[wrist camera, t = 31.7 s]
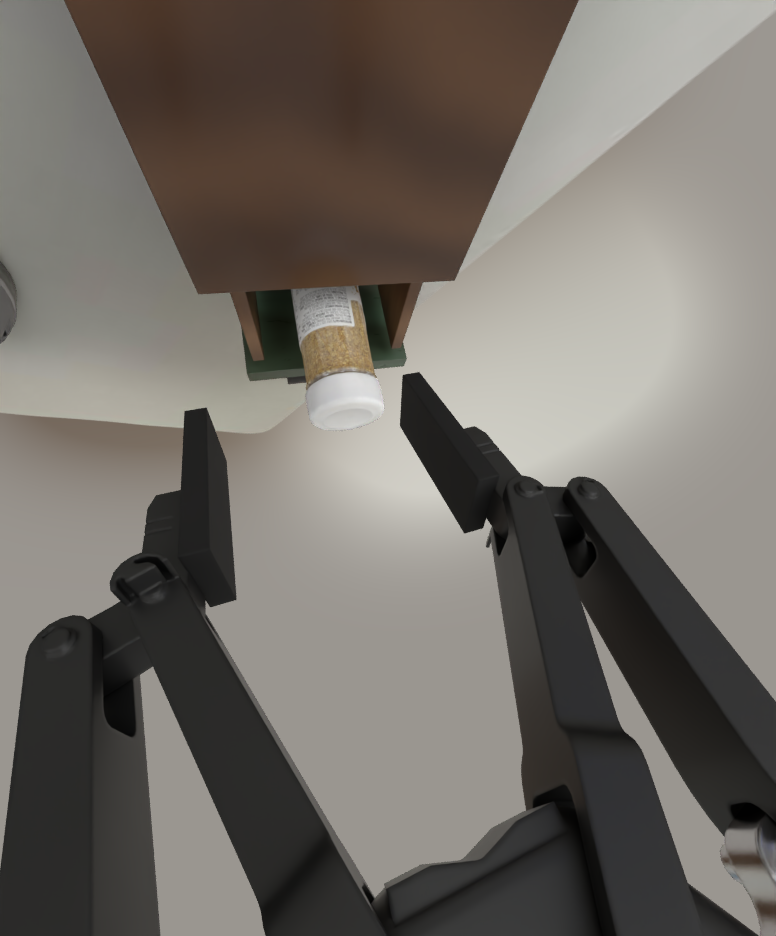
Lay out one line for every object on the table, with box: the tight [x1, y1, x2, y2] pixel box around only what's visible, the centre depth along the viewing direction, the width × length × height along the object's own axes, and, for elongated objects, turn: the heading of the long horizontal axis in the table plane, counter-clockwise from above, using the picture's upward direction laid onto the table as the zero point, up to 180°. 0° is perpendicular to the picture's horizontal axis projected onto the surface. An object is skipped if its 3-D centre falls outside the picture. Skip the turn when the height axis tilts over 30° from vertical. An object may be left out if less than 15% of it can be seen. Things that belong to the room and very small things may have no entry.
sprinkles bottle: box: [291, 286, 384, 431], centre depth 24 cm, size 5×5×13 cm
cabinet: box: [64, 0, 578, 294], centre depth 14 cm, size 16×14×10 cm
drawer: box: [230, 282, 423, 384], centre depth 28 cm, size 20×12×8 cm, turn 172°
